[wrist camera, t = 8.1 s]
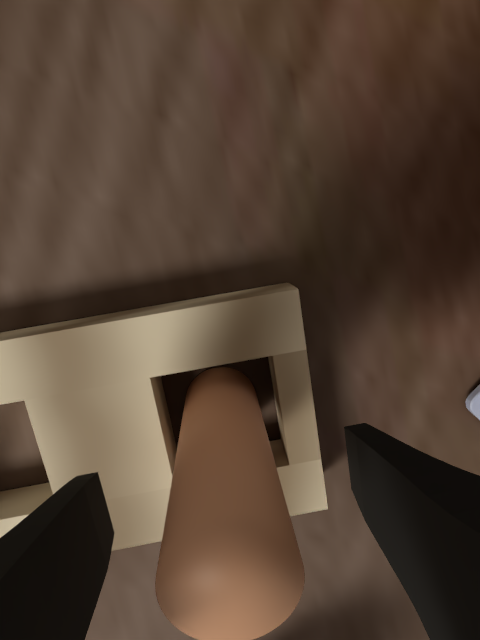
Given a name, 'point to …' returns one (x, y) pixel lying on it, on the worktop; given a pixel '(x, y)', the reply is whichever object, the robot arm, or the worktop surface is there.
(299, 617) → the worktop surface
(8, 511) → the hole block
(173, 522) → the peg
